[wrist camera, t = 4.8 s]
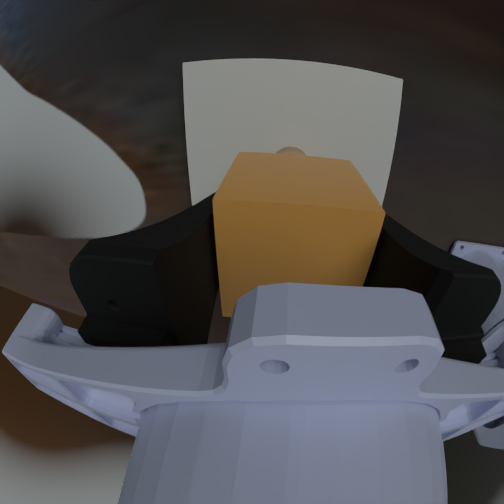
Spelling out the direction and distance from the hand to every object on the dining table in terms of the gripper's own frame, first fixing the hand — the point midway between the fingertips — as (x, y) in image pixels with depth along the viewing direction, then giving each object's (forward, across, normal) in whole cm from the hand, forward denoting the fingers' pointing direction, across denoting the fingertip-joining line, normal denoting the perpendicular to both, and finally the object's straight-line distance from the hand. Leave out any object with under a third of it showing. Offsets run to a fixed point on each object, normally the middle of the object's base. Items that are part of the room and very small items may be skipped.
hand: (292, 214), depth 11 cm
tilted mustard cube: (+2, 0, 0) cm, 2 cm away
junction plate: (+8, 0, 0) cm, 8 cm away
